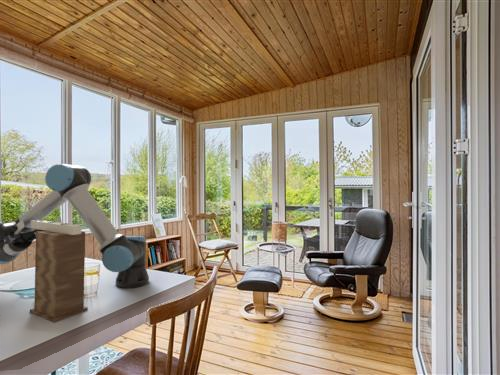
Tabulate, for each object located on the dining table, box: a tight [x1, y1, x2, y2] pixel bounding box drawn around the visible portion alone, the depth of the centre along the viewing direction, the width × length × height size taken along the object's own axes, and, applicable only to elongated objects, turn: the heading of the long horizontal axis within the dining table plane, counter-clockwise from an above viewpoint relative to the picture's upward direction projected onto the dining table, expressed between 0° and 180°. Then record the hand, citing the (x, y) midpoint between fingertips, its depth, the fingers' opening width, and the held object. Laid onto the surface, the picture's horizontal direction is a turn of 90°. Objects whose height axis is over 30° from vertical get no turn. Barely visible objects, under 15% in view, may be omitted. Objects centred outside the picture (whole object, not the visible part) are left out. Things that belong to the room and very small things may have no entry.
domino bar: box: [31, 219, 82, 235], centre depth 112 cm, size 28×3×3 cm, turn 62°
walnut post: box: [29, 230, 89, 323], centre depth 110 cm, size 16×12×30 cm
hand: (42, 221), depth 116 cm, fingers open, 13 cm apart
